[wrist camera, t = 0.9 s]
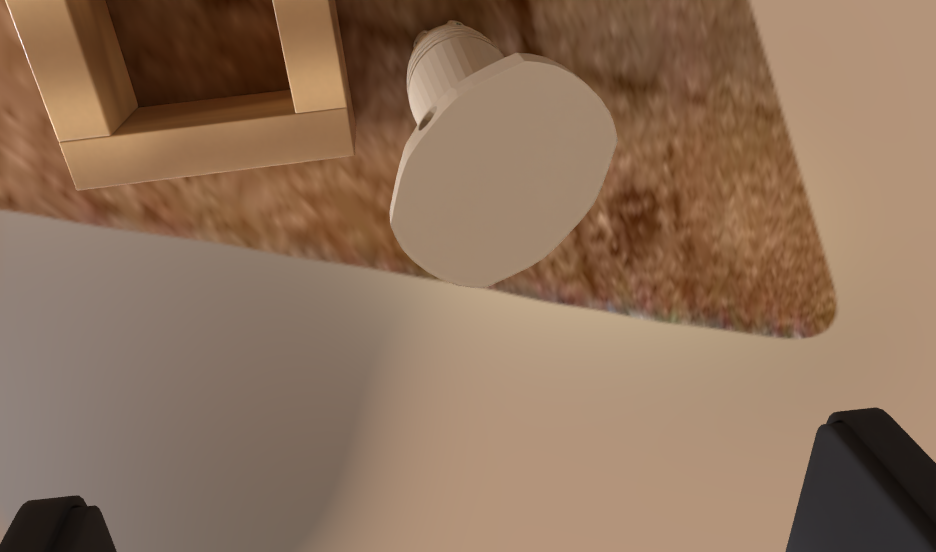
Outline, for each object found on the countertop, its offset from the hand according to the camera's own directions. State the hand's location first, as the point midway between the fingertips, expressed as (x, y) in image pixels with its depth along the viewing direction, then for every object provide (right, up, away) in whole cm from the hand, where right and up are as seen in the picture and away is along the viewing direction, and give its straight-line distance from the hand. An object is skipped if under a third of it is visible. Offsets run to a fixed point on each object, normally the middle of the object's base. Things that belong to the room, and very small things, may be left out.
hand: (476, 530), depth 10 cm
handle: (-1, +13, +23) cm, 26 cm away
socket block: (-11, +14, +20) cm, 27 cm away
